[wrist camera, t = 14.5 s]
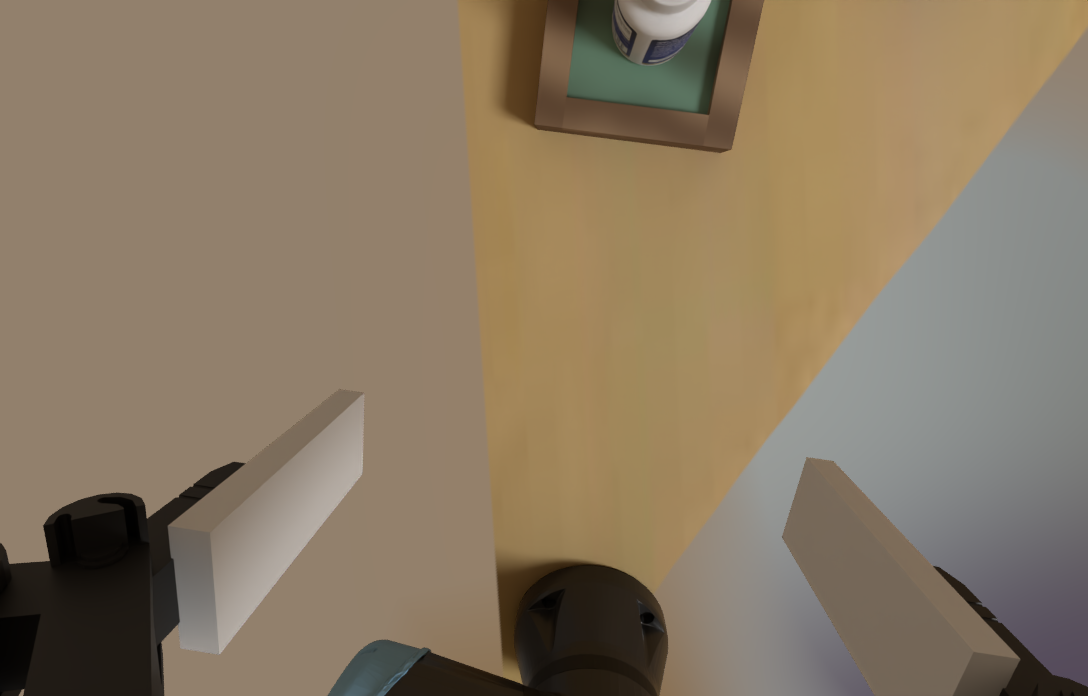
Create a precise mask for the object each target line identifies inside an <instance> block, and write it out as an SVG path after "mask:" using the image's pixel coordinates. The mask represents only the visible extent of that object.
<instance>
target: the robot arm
mask: <svg viewBox="0 0 1088 696" xmlns="http://www.w3.org/2000/svg"><path fill="white" fill-rule="evenodd" d="M363 425H364V393H362V392H355V391H348V390H341V389H339V390H338V391H336V392H335V393H334V394H333V395H332V396H330V397H329V398H328V399H326V400H325V401H324V402H323V403H321V404H320V405H319V406H318V407H316V408H315V409H314V410H313V411H311V412H310V413H309V414H307V415H306V416H305V417H304V418H302V419H301V420H300V421H299V422H297V423H296V424H295V425H294V426H292V427H291V428H290V429H289V430H287V431H286V432H285V433H284V434H282V435H281V436H280V437H279V438H277V439H276V440H275V441H274V442H272V443H271V444H270V445H269V446H267V447H266V448H265V449H264V450H262V451H261V452H260V453H259V454H258V455H256V456H255V457H254V458H252V459H251V460H250V461H248V462H247V463H246V464H245V463H239V462H232V463H230V464H228V465H225V466H223V467H220V468H218V469H216V470H213V471H211V472H209V473H208V474H207V475H205V476H204V477H203V478H201V479H200V480H199V481H197V482H196V483H195V484H194V486H193V487H189V488H188V489H187V490H185V491H184V492H183V493H181V494H180V495H179V498H174V499H173V500H172V501H171V502H169V503H168V504H166V505H165V506H164V507H162V508H161V509H160V510H158V511H157V512H156V513H154V514H153V515H152V516H150V517H149V518H148V519H147V518H146V509H145V504H144V502H143V500H142V498H140V497H137V496H135V495H133V494H127V493H111V494H100V495H96V496H92V497H88V498H84V499H81V500H78V501H76V502H74V503H71V504H69V505H67V506H65V507H62V508H61V509H59V510H58V511H57V512H55V513H54V514H52V515H51V516H50V517H49V518H48V519H47V521H46V522H45V524H44V525H43V527H44V532H45V537H46V542H47V548H48V553H49V559H50V561H45V562H31V563H17V564H9V562H8V557H7V553H6V550H5V548H4V547H3V545H2V544H1V543H0V696H19V694H20V692H21V690H22V689H25V690H24V695H23V696H164V675H163V653H162V644H161V642H162V640H163V639H164V638H165V637H166V636H167V635H168V634H169V633H170V632H171V631H172V630H173V629H174V628H175V626H177V625H178V628H179V638H180V647H181V648H182V649H188V650H194V651H201V652H206V653H212V654H220V653H221V652H222V651H223V649H224V648H225V647H226V646H227V644H228V643H229V642H230V641H231V639H232V638H233V637H234V636H235V634H236V633H237V632H238V630H239V629H240V628H241V627H242V625H243V624H244V623H245V622H246V620H247V619H248V618H249V617H250V615H251V614H252V613H253V611H254V610H255V609H256V608H257V606H258V605H259V604H260V603H261V601H262V600H263V599H264V598H265V596H266V595H267V594H268V593H269V591H270V590H271V588H273V586H274V585H275V584H276V582H277V581H278V580H279V578H280V577H281V576H282V575H283V574H284V572H285V571H286V570H287V569H288V567H289V566H290V565H291V563H292V562H293V561H294V560H295V558H296V557H297V556H298V555H299V553H300V552H301V551H302V550H303V548H304V547H305V546H306V545H307V543H308V542H309V540H310V539H311V538H312V537H313V536H314V534H315V533H316V532H317V530H318V529H319V528H320V527H321V525H322V524H323V523H324V522H325V520H326V519H327V518H328V516H329V515H330V514H331V513H332V512H333V510H334V509H335V508H336V506H337V505H338V504H339V503H340V501H341V500H342V499H343V498H344V496H345V495H346V494H347V493H348V491H349V490H350V489H351V488H352V486H353V485H354V484H355V482H356V481H357V480H358V479H359V477H360V476H361V475H362V468H363V467H362V466H363V464H362V463H363V427H364V426H363ZM782 538H783V540H784V541H785V543H786V545H787V547H788V548H789V550H790V552H791V553H792V555H793V557H794V559H795V560H796V562H797V564H798V565H799V567H800V569H801V570H802V572H803V574H804V575H805V577H806V579H807V581H808V582H809V584H810V586H811V588H812V589H813V591H814V592H815V594H816V596H817V598H818V599H819V601H820V603H821V604H822V606H823V608H824V610H825V611H826V613H827V615H828V617H829V618H830V620H831V621H832V623H833V625H834V627H835V629H836V630H837V632H838V634H839V635H840V637H841V639H842V640H843V642H844V644H845V645H846V647H847V649H848V651H849V652H850V654H851V656H852V658H853V659H854V661H855V663H856V664H857V666H858V668H859V669H860V671H861V673H862V675H863V676H864V678H865V680H866V682H867V683H868V685H869V687H870V688H871V690H872V692H873V693H874V695H875V696H1088V687H1087V686H1084V685H1082V684H1080V683H1077V682H1075V681H1073V680H1070V679H1067V678H1063V677H1058V676H1055V675H1052V674H1051V673H1050V672H1049V671H1048V670H1047V669H1046V668H1045V667H1044V666H1043V665H1042V664H1041V663H1040V662H1039V661H1038V660H1037V659H1036V658H1035V657H1034V656H1033V655H1032V654H1031V653H1030V652H1029V651H1028V649H1027V648H1026V647H1024V645H1022V643H1021V642H1020V641H1019V640H1018V639H1017V638H1016V637H1015V636H1014V635H1013V634H1012V633H1011V632H1010V631H1009V630H1008V629H1007V628H1006V627H1005V626H1004V625H1003V624H1002V623H998V621H997V620H998V619H997V618H996V617H995V616H994V615H993V614H992V613H991V612H990V611H989V610H988V609H987V608H986V607H983V606H982V603H981V602H980V601H979V600H978V599H977V598H976V596H974V595H973V593H972V592H970V590H969V589H968V588H967V587H966V586H965V585H964V584H962V583H961V582H959V581H958V580H957V579H955V578H954V577H952V576H951V575H950V574H948V573H947V572H945V571H944V570H942V569H941V568H939V567H935V566H932V565H931V564H930V563H929V562H928V561H927V560H926V559H925V558H924V557H923V556H922V555H921V553H920V552H919V551H918V550H917V549H916V548H915V547H914V546H913V545H912V544H911V543H910V542H909V541H908V540H907V539H906V538H905V536H904V535H903V534H902V533H901V532H900V531H899V530H898V529H897V528H896V527H895V526H894V525H893V524H892V523H891V522H890V521H889V520H888V519H887V517H886V516H885V515H884V514H883V513H882V512H881V511H880V510H879V509H878V508H877V507H876V506H875V505H874V504H873V503H872V502H871V501H870V499H868V497H867V496H866V495H865V494H864V493H863V492H862V491H861V490H860V489H859V488H858V487H857V486H856V485H855V484H854V483H853V482H852V481H851V479H850V478H849V477H848V476H847V475H846V474H845V473H844V472H843V471H842V470H841V469H840V468H839V467H838V466H837V465H836V464H835V463H834V461H829V460H822V459H815V458H808V457H807V458H806V461H805V464H804V468H803V471H802V474H801V478H800V481H799V484H798V487H797V491H796V494H795V497H794V500H793V503H792V506H791V510H790V513H789V516H788V520H787V523H786V526H785V529H784V533H783V536H782ZM514 646H515V652H516V656H517V661H518V665H519V670H520V674H521V678H522V683H523V685H522V684H520V683H517V682H514V681H512V680H509V679H506V678H503V677H500V676H497V675H494V674H491V673H488V672H485V671H483V670H480V669H477V668H474V667H471V666H468V665H465V664H462V663H459V662H456V661H454V660H451V659H448V658H445V657H441V656H439V655H436V654H433V653H431V650H430V649H428V648H422V649H419V648H415V647H411V646H407V645H404V644H400V643H397V642H393V641H390V640H378V641H374V642H372V643H370V644H368V645H367V646H365V647H364V648H363V649H362V650H360V651H359V652H358V654H357V655H356V656H355V657H354V658H353V659H352V661H351V662H350V663H349V664H348V666H347V667H346V668H345V670H344V671H343V673H342V674H341V676H340V677H339V679H338V680H337V682H336V684H335V685H334V686H333V688H332V689H331V691H330V693H329V694H328V696H659V695H660V690H661V684H662V680H663V674H664V669H665V664H666V658H667V654H668V635H667V630H666V625H665V620H664V615H663V612H662V610H661V607H660V605H659V603H658V601H657V600H656V598H655V597H654V595H653V594H652V593H651V592H650V591H649V590H648V589H647V588H646V587H645V586H644V585H643V584H642V583H640V582H639V581H637V580H636V579H634V578H633V577H631V576H629V575H627V574H625V573H623V572H620V571H617V570H614V569H611V568H607V567H601V566H574V567H568V568H564V569H561V570H558V571H555V572H553V573H551V574H549V575H547V576H545V577H543V578H542V579H540V580H539V581H538V582H536V583H535V584H534V585H533V586H532V587H531V588H530V589H529V590H528V591H527V593H526V594H525V596H524V597H523V599H522V601H521V603H520V605H519V608H518V612H517V617H516V624H515V630H514Z"/></svg>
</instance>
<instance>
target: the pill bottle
mask: <svg viewBox="0 0 1088 696" xmlns="http://www.w3.org/2000/svg"><path fill="white" fill-rule="evenodd" d="M710 3H711V0H615V2H614V8H613V15H612V32H613V37H614V40H615V43H616V45H617V47H618V49H619V50H620V51H621V53H622V54H623V55H624V56H625V57H626V58H627V59H629V60H630V61H632V62H634V63H636V64H639V65H645V66H653V65H659V64H662V63H664V62H666V61H668V60H670V59H671V58H673V57H674V56H675V55H676V54H677V53H678V52H679V51H680V50H681V49H682V48H683V47H684V45H685V44H686V42H687V41H688V39H689V38H690V36H691V35H692V33H693V32H694V30H695V28H696V27H697V25H698V24H699V22H700V21H701V19H702V18H703V16H704V14H705V13H706V11H707V9H708V7H709V5H710Z"/></svg>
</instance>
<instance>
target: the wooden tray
mask: <svg viewBox="0 0 1088 696" xmlns="http://www.w3.org/2000/svg"><path fill="white" fill-rule="evenodd" d="M614 2H615V0H548V6H547V15H546V24H545V33H544V42H543V51H542V60H541V69H540V78H539V88H538V97H537V106H536V115H535V126H536V127H537V129H538V130H545V131H553V132H561V133H569V134H577V135H585V136H592V137H600V138H608V139H616V140H624V141H632V142H639V143H647V144H655V145H663V146H671V147H679V148H686V149H694V150H702V151H710V152H718V153H722V152H725V151H728V150H731V149H732V145H733V140H734V136H735V131H736V127H737V122H738V117H739V113H740V108H741V104H742V99H743V94H744V90H745V85H746V81H747V76H748V71H749V67H750V62H751V58H752V53H753V48H754V44H755V39H756V35H757V30H758V26H759V21H760V16H761V12H762V7H763V3H764V0H711V3H710V5H709V7H708V9H707V11H706V13H705V14H704V16H703V18H702V19H701V21H700V22H699V24H698V25H697V27H696V28H695V30H694V32H693V33H692V35H691V36H690V38H689V39H688V41H687V42H686V44H685V45H684V47H683V48H682V49H681V50H680V51H679V52H678V53H677V54H676V55H675V56H674V57H673V58H671V59H670V60H668V61H666V62H664V63H662V64H659V65H653V66H645V65H639V64H636V63H634V62H632V61H630V60H629V59H627V58H626V57H625V56H624V55H623V54H622V53H621V51H620V50H619V49H618V47H617V45H616V43H615V40H614V37H613V32H612V15H613V8H614Z"/></svg>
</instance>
